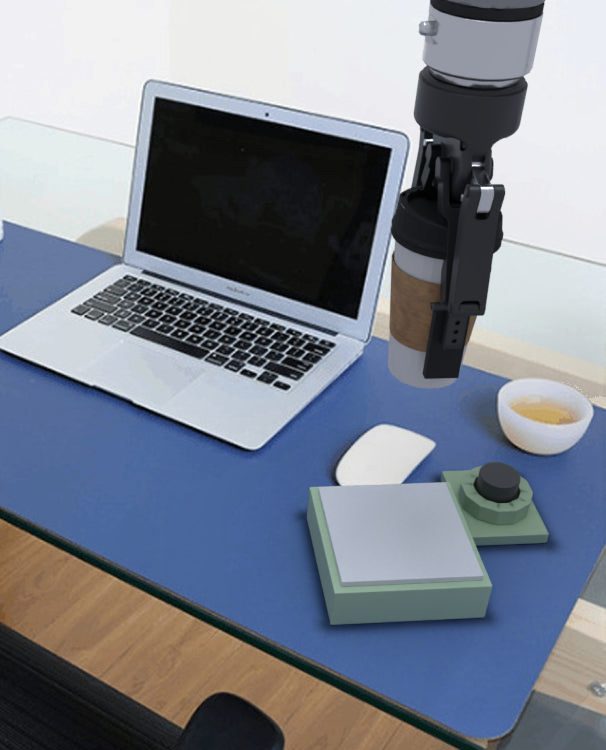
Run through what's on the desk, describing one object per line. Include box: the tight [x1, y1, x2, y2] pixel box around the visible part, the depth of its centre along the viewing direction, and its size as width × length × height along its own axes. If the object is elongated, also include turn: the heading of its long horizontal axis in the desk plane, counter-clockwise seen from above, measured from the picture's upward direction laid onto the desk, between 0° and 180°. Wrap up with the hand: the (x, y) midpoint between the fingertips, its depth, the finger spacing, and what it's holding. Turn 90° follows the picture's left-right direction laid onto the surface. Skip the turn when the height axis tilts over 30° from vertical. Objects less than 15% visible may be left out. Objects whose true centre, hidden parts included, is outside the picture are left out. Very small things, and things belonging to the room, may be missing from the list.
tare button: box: [476, 461, 521, 503], centre depth 100 cm, size 4×4×2 cm
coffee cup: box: [387, 185, 504, 390], centre depth 79 cm, size 8×8×15 cm
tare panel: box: [440, 465, 550, 547], centre depth 101 cm, size 8×10×3 cm
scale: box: [306, 481, 493, 626], centre depth 93 cm, size 14×14×5 cm
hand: (427, 347), depth 82 cm, fingers closed on coffee cup, 8 cm apart
